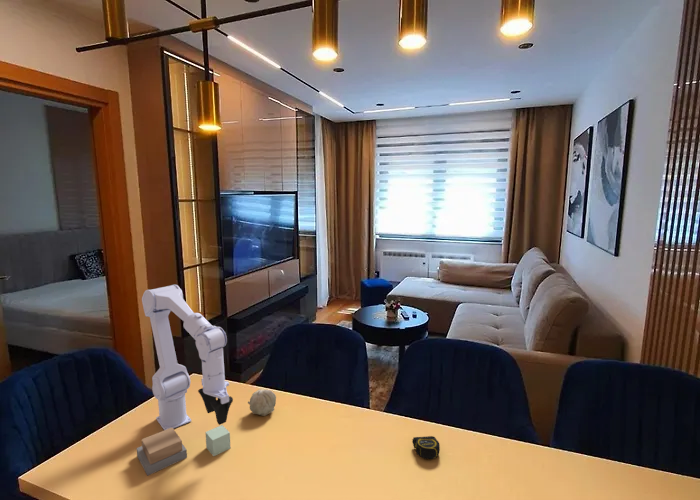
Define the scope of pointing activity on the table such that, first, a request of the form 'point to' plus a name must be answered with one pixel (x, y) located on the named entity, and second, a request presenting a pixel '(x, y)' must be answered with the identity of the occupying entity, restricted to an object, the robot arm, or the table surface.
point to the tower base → (162, 463)
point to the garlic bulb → (262, 402)
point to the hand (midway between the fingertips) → (216, 417)
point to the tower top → (161, 445)
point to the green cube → (217, 440)
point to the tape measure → (426, 447)
